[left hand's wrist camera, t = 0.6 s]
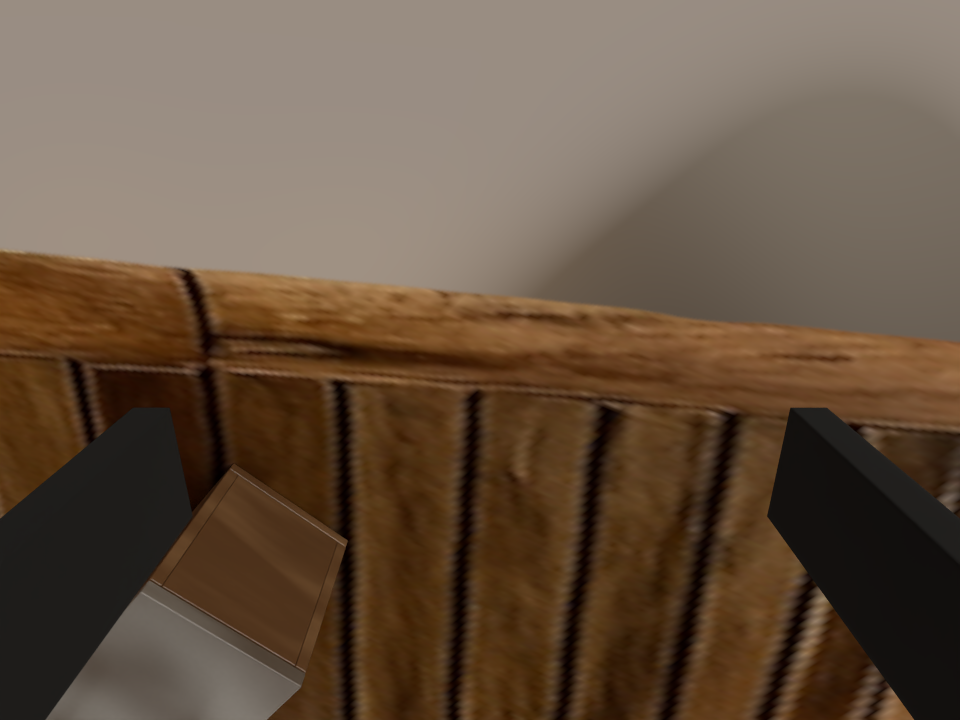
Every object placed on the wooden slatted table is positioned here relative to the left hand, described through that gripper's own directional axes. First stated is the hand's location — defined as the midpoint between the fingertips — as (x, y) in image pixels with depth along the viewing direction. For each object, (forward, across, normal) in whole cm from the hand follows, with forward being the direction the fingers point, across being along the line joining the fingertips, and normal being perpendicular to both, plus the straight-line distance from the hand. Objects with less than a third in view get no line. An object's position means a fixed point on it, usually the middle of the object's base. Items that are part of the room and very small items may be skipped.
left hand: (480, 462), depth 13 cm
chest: (+24, +18, +23) cm, 38 cm away
